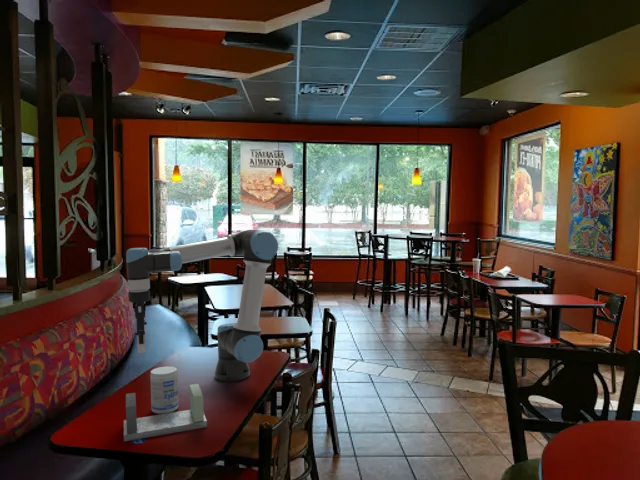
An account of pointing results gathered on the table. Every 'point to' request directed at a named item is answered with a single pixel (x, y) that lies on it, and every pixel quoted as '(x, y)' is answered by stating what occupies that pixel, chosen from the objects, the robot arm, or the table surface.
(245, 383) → the table surface
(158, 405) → the supplement tub
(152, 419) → the vise
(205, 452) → the table surface
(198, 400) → the block
